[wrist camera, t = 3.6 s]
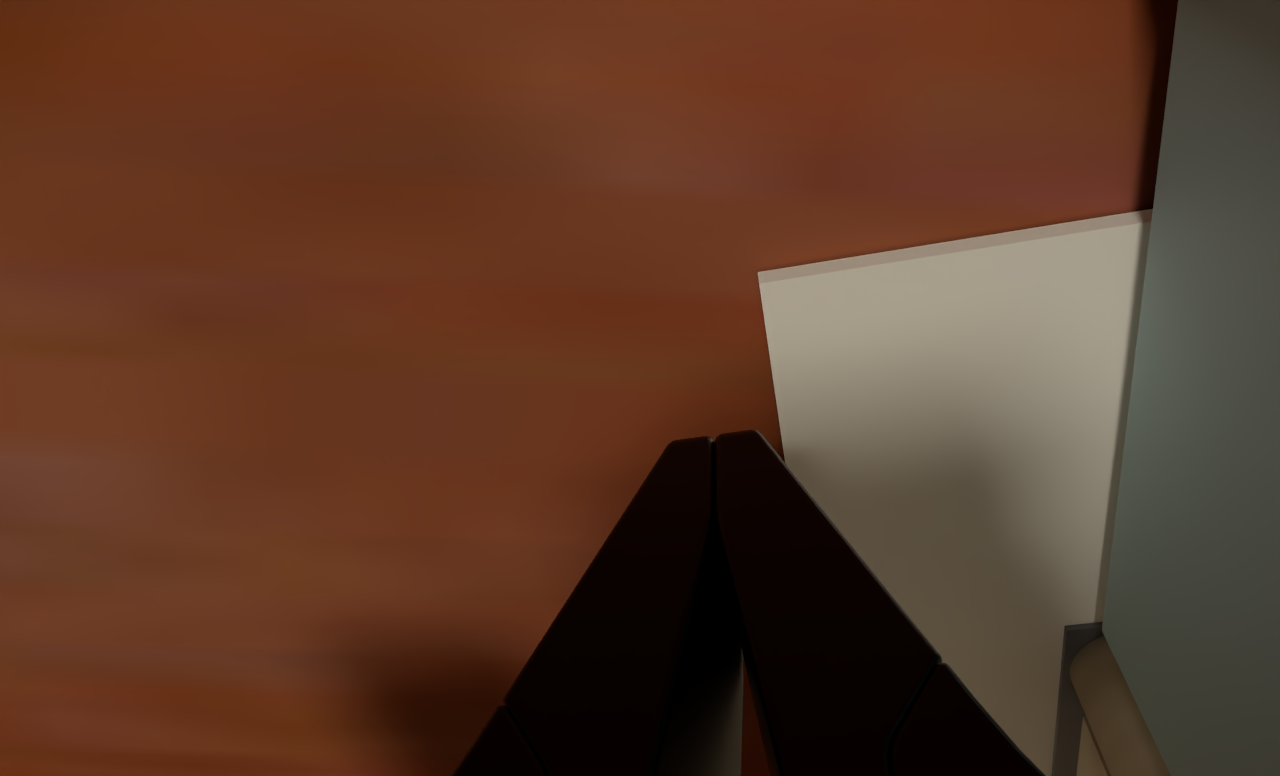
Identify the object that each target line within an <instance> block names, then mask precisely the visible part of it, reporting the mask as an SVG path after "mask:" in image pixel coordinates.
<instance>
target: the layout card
mask: <svg viewBox="0 0 1280 776" xmlns="http://www.w3.org/2000/svg"><path fill="white" fill-rule="evenodd" d="M1152 212H1153V209H1148V210H1142V211H1136V212H1129V213H1123V214H1117V215H1111V216H1105V217H1098V218H1092V219H1086V220H1080V221H1074V222H1067V223H1061V224H1055V225H1049V226H1042V227H1036V228H1030V229H1024V230H1018V231H1011V232H1005V233H999V234H993V235H986V236H980V237H974V238H968V239H962V240H955V241H949V242H943V243H937V244H930V245H924V246H918V247H912V248H906V249H899V250H893V251H887V252H881V253H874V254H868V255H862V256H856V257H850V258H843V259H837V260H831V261H825V262H818V263H812V264H806V265H800V266H794V267H787V268H781V269H775V270H769V271H762V272H758V279H759V286H760V293H761V300H762V307H763V313H764V320H765V327H766V334H767V341H768V348H769V355H770V362H771V369H772V376H773V382H774V389H775V396H776V403H777V410H778V417H779V424H780V431H781V438H782V445H783V452H784V458H785V464H786V465H787V466H788V467H789V469H790V470H791V471H792V472H793V473H794V475H795V476H796V477H797V478H798V480H799V481H800V482H801V483H802V485H803V486H804V487H805V488H806V490H807V491H808V492H809V493H810V494H811V496H812V497H813V498H814V499H815V501H816V502H817V503H818V504H819V506H820V507H821V508H822V509H823V511H824V512H825V513H826V514H827V516H828V517H829V518H830V519H831V520H832V522H833V523H834V524H835V525H836V527H837V528H838V529H839V530H840V532H841V533H842V534H843V535H844V537H845V538H846V539H847V540H848V542H849V543H850V544H851V545H852V546H853V548H854V549H855V550H856V551H857V553H858V554H859V555H860V556H861V558H862V559H863V560H864V561H865V563H866V564H867V565H868V566H869V568H870V569H871V570H872V571H873V572H874V574H875V575H876V576H877V577H878V579H879V580H880V581H881V582H882V584H883V585H884V586H885V587H886V589H887V590H888V591H889V592H890V594H891V595H892V596H893V597H894V598H895V600H896V601H897V602H898V603H899V605H900V606H901V607H902V608H903V610H904V611H905V612H906V613H907V615H908V616H909V617H910V618H911V620H912V621H913V622H914V623H915V624H916V626H917V627H918V628H919V629H920V631H921V632H922V633H923V634H924V636H925V637H926V638H927V639H928V641H929V642H930V643H931V644H932V645H933V647H934V648H935V649H936V650H937V652H938V653H939V654H940V655H941V657H942V663H947V664H948V665H949V666H950V667H951V668H952V670H953V671H954V672H955V673H956V674H957V676H958V677H959V678H960V679H961V681H962V682H963V683H964V684H965V686H966V687H967V688H968V689H969V691H970V692H971V693H972V694H973V696H974V697H975V698H976V699H977V700H978V701H979V703H980V704H981V705H982V706H983V707H984V708H985V710H986V711H987V712H988V713H989V714H990V715H991V716H992V718H993V719H994V720H995V721H996V722H997V723H998V725H999V726H1000V727H1001V728H1002V729H1003V730H1004V731H1005V733H1006V734H1007V735H1008V736H1009V737H1010V738H1011V740H1012V741H1013V742H1014V743H1015V744H1016V745H1017V746H1018V748H1019V749H1020V750H1021V751H1022V752H1023V753H1024V754H1025V755H1026V756H1027V757H1028V758H1029V759H1030V760H1031V761H1032V762H1033V763H1034V764H1035V765H1036V766H1037V767H1038V768H1039V769H1040V770H1041V771H1042V772H1043V773H1044V774H1045V775H1046V776H1076V774H1077V765H1078V757H1079V748H1080V739H1081V730H1082V721H1083V717H1084V716H1086V715H1085V712H1084V710H1083V708H1082V705H1081V703H1080V700H1079V698H1078V696H1077V693H1076V691H1075V689H1074V686H1073V684H1072V681H1071V679H1070V675H1069V670H1070V665H1071V663H1072V660H1073V659H1074V657H1075V656H1076V655H1077V653H1078V652H1079V651H1080V650H1081V649H1082V648H1083V647H1085V646H1086V645H1087V644H1089V643H1090V642H1092V641H1093V640H1095V639H1097V638H1099V637H1101V636H1104V634H1103V632H1102V624H1103V616H1104V608H1105V599H1106V591H1107V583H1108V575H1109V566H1110V558H1111V550H1112V542H1113V533H1114V525H1115V517H1116V509H1117V501H1118V492H1119V484H1120V476H1121V468H1122V459H1123V451H1124V443H1125V435H1126V426H1127V418H1128V410H1129V402H1130V394H1131V385H1132V377H1133V369H1134V361H1135V352H1136V344H1137V336H1138V328H1139V319H1140V311H1141V303H1142V295H1143V287H1144V278H1145V270H1146V262H1147V254H1148V245H1149V237H1150V229H1151V221H1152Z"/></svg>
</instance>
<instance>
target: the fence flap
mask: <svg viewBox="0 0 1280 776" xmlns="http://www.w3.org/2000/svg"><path fill="white" fill-rule="evenodd" d="M1102 632H1103V634H1104V636H1105V638H1106V640H1107V642H1108V645H1109V647H1110V649H1111V651H1112V653H1113V655H1114V657H1115V659H1116V661H1117V663H1118V666H1119V668H1120V670H1121V672H1122V674H1123V676H1124V678H1125V680H1126V682H1127V684H1128V686H1129V689H1130V691H1131V693H1132V695H1133V697H1134V699H1135V701H1136V703H1137V705H1138V707H1139V710H1140V712H1141V714H1142V716H1143V718H1144V720H1145V722H1146V724H1147V726H1148V728H1149V731H1150V733H1151V735H1152V737H1153V739H1154V741H1155V743H1156V745H1157V747H1158V749H1159V751H1160V754H1161V756H1162V758H1163V760H1164V762H1165V764H1166V766H1167V768H1168V770H1169V772H1170V775H1171V776H1280V0H1178V7H1177V15H1176V23H1175V31H1174V40H1173V48H1172V56H1171V64H1170V73H1169V81H1168V89H1167V97H1166V105H1165V114H1164V122H1163V130H1162V138H1161V147H1160V155H1159V163H1158V171H1157V180H1156V188H1155V196H1154V204H1153V212H1152V221H1151V229H1150V237H1149V245H1148V254H1147V262H1146V270H1145V278H1144V287H1143V295H1142V303H1141V311H1140V319H1139V328H1138V336H1137V344H1136V352H1135V361H1134V369H1133V377H1132V385H1131V394H1130V402H1129V410H1128V418H1127V426H1126V435H1125V443H1124V451H1123V459H1122V468H1121V476H1120V484H1119V492H1118V501H1117V509H1116V517H1115V525H1114V533H1113V542H1112V550H1111V558H1110V566H1109V575H1108V583H1107V591H1106V599H1105V608H1104V616H1103V624H1102Z"/></svg>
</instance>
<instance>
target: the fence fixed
mask: <svg viewBox="0 0 1280 776" xmlns="http://www.w3.org/2000/svg"><path fill="white" fill-rule="evenodd" d="M1069 675H1070V679H1071V681H1072V684H1073V686H1074V689H1075V691H1076V693H1077V696H1078V698H1079V700H1080V703H1081V705H1082V708H1083V710H1084V712H1085V715H1086V716H1084V717H1083V721H1082V730H1081V739H1080V748H1079V757H1078V765H1077V774H1076V776H1171V775H1170V772H1169V770H1168V768H1167V766H1166V764H1165V762H1164V760H1163V758H1162V756H1161V754H1160V751H1159V749H1158V747H1157V745H1156V743H1155V741H1154V739H1153V737H1152V735H1151V733H1150V731H1149V728H1148V726H1147V724H1146V722H1145V720H1144V718H1143V716H1142V714H1141V712H1140V710H1139V707H1138V705H1137V703H1136V701H1135V699H1134V697H1133V695H1132V693H1131V691H1130V689H1129V686H1128V684H1127V682H1126V680H1125V678H1124V676H1123V674H1122V672H1121V670H1120V668H1119V666H1118V663H1117V661H1116V659H1115V657H1114V655H1113V653H1112V651H1111V649H1110V647H1109V645H1108V642H1107V640H1106V638H1105V636H1101V637H1099V638H1097V639H1095V640H1093V641H1092V642H1090V643H1089V644H1087V645H1086V646H1085V647H1083V648H1082V649H1081V650H1080V651H1079V652H1078V653H1077V655H1076V656H1075V657H1074V659H1073V660H1072V663H1071V665H1070V670H1069Z"/></svg>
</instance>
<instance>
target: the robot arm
mask: <svg viewBox="0 0 1280 776" xmlns="http://www.w3.org/2000/svg"><path fill="white" fill-rule="evenodd" d="M742 651H743V652H742ZM743 656H744V661H745V665H746V670H747V675H748V680H749V685H750V689H751V694H752V698H753V702H754V706H755V711H756V715H757V719H758V723H759V728H760V732H761V736H762V741H763V745H764V749H765V753H766V758H767V762H768V766H769V770H770V775H771V776H1046V775H1045V774H1044V773H1043V772H1042V771H1041V770H1040V769H1039V768H1038V767H1037V766H1036V765H1035V764H1034V763H1033V762H1032V761H1031V760H1030V759H1029V758H1028V757H1027V756H1026V755H1025V754H1024V753H1023V752H1022V751H1021V750H1020V749H1019V748H1018V746H1017V745H1016V744H1015V743H1014V742H1013V741H1012V740H1011V738H1010V737H1009V736H1008V735H1007V734H1006V733H1005V731H1004V730H1003V729H1002V728H1001V727H1000V726H999V725H998V723H997V722H996V721H995V720H994V719H993V718H992V716H991V715H990V714H989V713H988V712H987V711H986V710H985V708H984V707H983V706H982V705H981V704H980V703H979V701H978V700H977V699H976V698H975V697H974V696H973V694H972V693H971V692H970V691H969V689H968V688H967V687H966V686H965V684H964V683H963V682H962V681H961V679H960V678H959V677H958V676H957V674H956V673H955V672H954V671H953V670H952V668H951V667H950V666H949V665H948V664H947V663H942V657H941V655H940V654H939V653H938V652H937V650H936V649H935V648H934V647H933V645H932V644H931V643H930V642H929V641H928V639H927V638H926V637H925V636H924V634H923V633H922V632H921V631H920V629H919V628H918V627H917V626H916V624H915V623H914V622H913V621H912V620H911V618H910V617H909V616H908V615H907V613H906V612H905V611H904V610H903V608H902V607H901V606H900V605H899V603H898V602H897V601H896V600H895V598H894V597H893V596H892V595H891V594H890V592H889V591H888V590H887V589H886V587H885V586H884V585H883V584H882V582H881V581H880V580H879V579H878V577H877V576H876V575H875V574H874V572H873V571H872V570H871V569H870V568H869V566H868V565H867V564H866V563H865V561H864V560H863V559H862V558H861V556H860V555H859V554H858V553H857V551H856V550H855V549H854V548H853V546H852V545H851V544H850V543H849V542H848V540H847V539H846V538H845V537H844V535H843V534H842V533H841V532H840V530H839V529H838V528H837V527H836V525H835V524H834V523H833V522H832V520H831V519H830V518H829V517H828V516H827V514H826V513H825V512H824V511H823V509H822V508H821V507H820V506H819V504H818V503H817V502H816V501H815V499H814V498H813V497H812V496H811V494H810V493H809V492H808V491H807V490H806V488H805V487H804V486H803V485H802V483H801V482H800V481H799V480H798V478H797V477H796V476H795V475H794V473H793V472H792V471H791V470H790V469H789V467H788V466H787V465H786V464H785V462H784V461H783V460H782V459H781V457H780V456H779V455H778V454H777V452H776V451H775V450H774V449H773V447H772V446H771V445H770V444H769V443H768V441H767V440H766V439H765V438H764V436H763V435H762V434H761V433H760V432H759V431H756V430H747V431H739V432H732V433H725V434H720V435H719V436H717V437H716V440H715V442H714V440H713V439H712V438H711V437H709V436H703V437H695V438H688V439H680V440H675V441H672V442H671V443H669V444H668V445H667V447H666V448H665V450H664V451H663V453H662V455H661V456H660V458H659V459H658V461H657V462H656V464H655V465H654V467H653V468H652V470H651V471H650V473H649V475H648V476H647V478H646V479H645V481H644V482H643V484H642V485H641V487H640V488H639V490H638V492H637V493H636V495H635V496H634V498H633V499H632V501H631V502H630V504H629V505H628V507H627V509H626V510H625V512H624V513H623V515H622V516H621V518H620V519H619V521H618V522H617V524H616V525H615V527H614V529H613V530H612V532H611V533H610V535H609V536H608V538H607V539H606V541H605V542H604V544H603V546H602V547H601V549H600V550H599V552H598V553H597V555H596V556H595V558H594V559H593V561H592V563H591V564H590V566H589V567H588V569H587V570H586V572H585V573H584V575H583V576H582V578H581V580H580V581H579V583H578V584H577V586H576V587H575V589H574V590H573V592H572V593H571V595H570V596H569V598H568V600H567V601H566V603H565V604H564V606H563V607H562V609H561V610H560V612H559V613H558V615H557V617H556V618H555V620H554V621H553V623H552V624H551V626H550V627H549V629H548V630H547V632H546V634H545V635H544V637H543V638H542V640H541V641H540V643H539V644H538V646H537V647H536V649H535V650H534V652H533V654H532V655H531V657H530V658H529V660H528V661H527V663H526V664H525V666H524V667H523V669H522V671H521V672H520V674H519V675H518V677H517V678H516V680H515V681H514V683H513V684H512V686H511V688H510V689H509V691H508V692H507V694H506V695H505V697H504V699H503V703H504V706H503V705H501V706H498V707H497V708H496V710H495V711H494V713H493V715H492V716H491V718H490V719H489V721H488V722H487V724H486V725H485V727H484V728H483V730H482V732H481V733H480V735H479V736H478V738H477V739H476V741H475V742H474V744H473V745H472V747H471V748H470V750H469V751H468V752H467V754H466V755H465V757H464V758H463V760H462V761H461V763H460V764H459V766H458V767H457V768H456V770H455V771H454V773H453V774H452V776H741V756H742V721H743Z"/></svg>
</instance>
